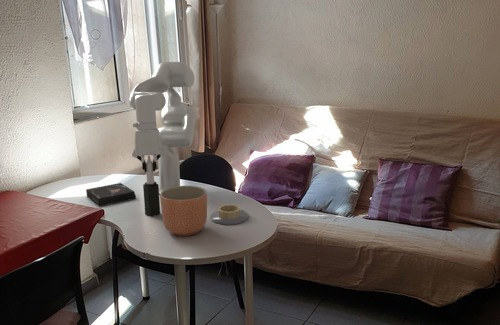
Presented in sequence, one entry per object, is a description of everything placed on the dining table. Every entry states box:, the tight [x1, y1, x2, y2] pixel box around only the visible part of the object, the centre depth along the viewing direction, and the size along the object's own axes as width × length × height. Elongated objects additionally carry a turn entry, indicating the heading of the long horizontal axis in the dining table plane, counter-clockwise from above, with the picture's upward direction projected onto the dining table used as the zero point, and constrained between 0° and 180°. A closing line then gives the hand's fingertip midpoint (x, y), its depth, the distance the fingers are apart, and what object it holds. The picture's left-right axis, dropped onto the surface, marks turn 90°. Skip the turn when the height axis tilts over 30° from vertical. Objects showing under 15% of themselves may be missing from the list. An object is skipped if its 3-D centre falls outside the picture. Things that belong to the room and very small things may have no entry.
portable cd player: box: [85, 182, 137, 207], centre depth 204 cm, size 16×17×4 cm
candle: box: [142, 155, 161, 218], centre depth 181 cm, size 5×5×25 cm
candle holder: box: [210, 203, 249, 226], centre depth 179 cm, size 15×15×4 cm
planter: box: [159, 185, 208, 237], centre depth 165 cm, size 17×17×15 cm
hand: (149, 170), depth 179 cm, fingers closed on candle, 2 cm apart
